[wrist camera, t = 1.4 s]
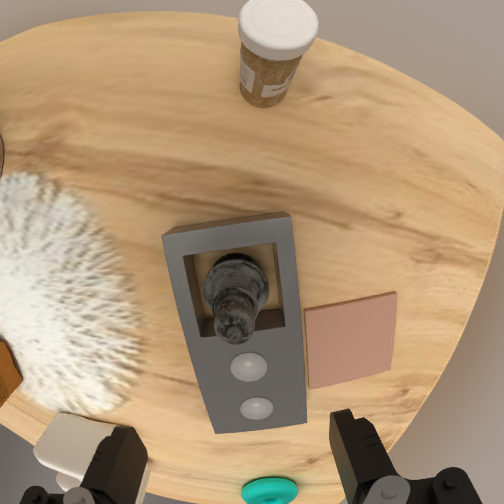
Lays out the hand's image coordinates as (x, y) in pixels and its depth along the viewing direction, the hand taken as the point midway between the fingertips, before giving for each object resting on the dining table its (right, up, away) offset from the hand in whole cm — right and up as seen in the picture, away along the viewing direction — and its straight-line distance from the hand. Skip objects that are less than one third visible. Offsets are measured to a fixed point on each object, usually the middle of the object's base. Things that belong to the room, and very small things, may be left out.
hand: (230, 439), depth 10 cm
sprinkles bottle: (+2, +23, +15) cm, 28 cm away
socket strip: (0, -1, +21) cm, 21 cm away
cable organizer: (-23, -23, +26) cm, 41 cm away
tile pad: (+13, -3, +22) cm, 25 cm away
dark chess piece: (-1, +5, +20) cm, 20 cm away
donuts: (+4, -35, +29) cm, 46 cm away
